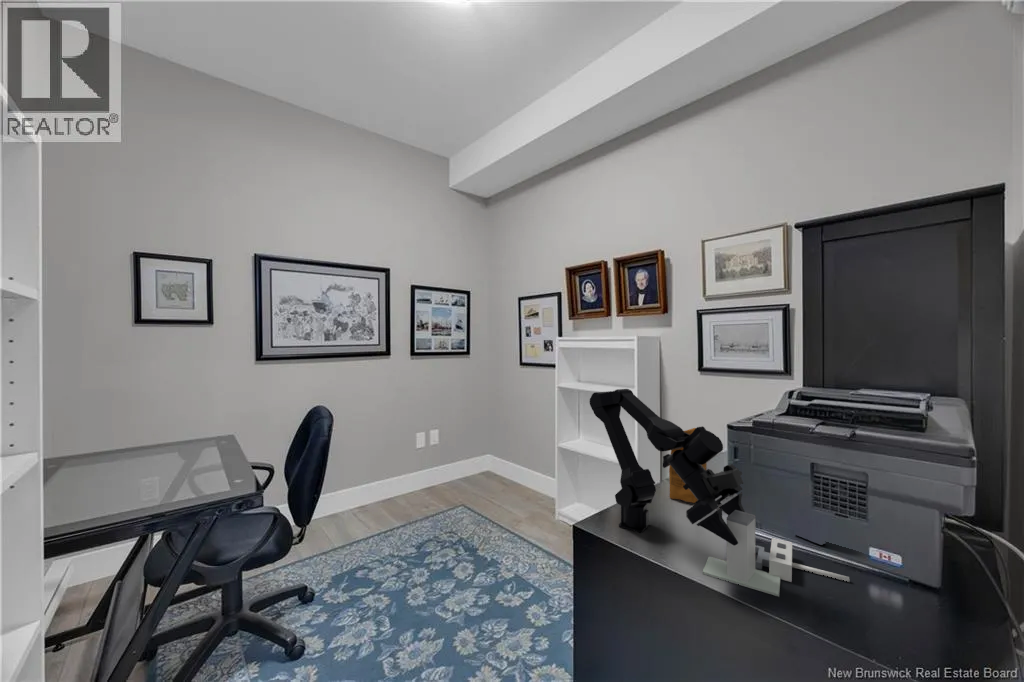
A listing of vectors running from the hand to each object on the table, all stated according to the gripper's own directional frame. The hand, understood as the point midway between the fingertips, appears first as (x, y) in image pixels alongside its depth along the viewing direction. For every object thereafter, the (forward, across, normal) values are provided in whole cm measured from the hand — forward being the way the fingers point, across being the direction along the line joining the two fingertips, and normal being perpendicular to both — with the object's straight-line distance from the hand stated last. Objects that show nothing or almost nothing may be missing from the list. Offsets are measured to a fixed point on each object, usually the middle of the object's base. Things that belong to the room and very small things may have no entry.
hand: (743, 537), depth 88 cm
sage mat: (+6, 0, +6) cm, 9 cm away
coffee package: (-13, +36, +26) cm, 46 cm away
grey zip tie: (+10, +11, +3) cm, 15 cm away
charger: (+5, 0, +6) cm, 8 cm away
